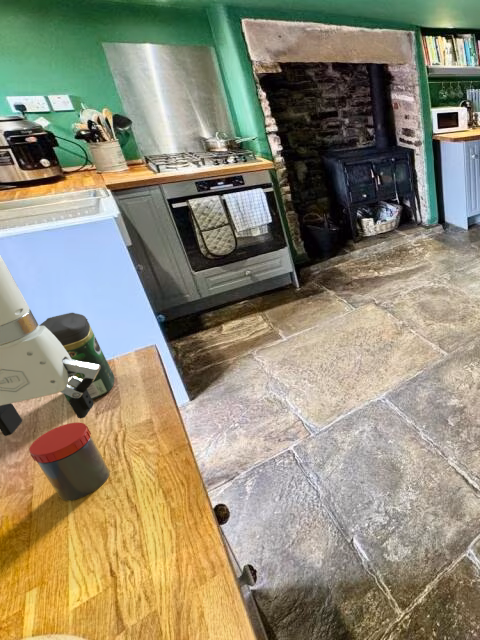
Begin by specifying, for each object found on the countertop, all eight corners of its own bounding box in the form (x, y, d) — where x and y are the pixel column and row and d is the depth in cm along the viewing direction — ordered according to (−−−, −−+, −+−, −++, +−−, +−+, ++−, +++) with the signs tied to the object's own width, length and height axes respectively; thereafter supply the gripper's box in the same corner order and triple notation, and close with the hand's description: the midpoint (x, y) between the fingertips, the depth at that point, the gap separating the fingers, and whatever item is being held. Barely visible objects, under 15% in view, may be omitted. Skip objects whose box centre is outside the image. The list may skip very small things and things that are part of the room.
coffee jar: (69, 386, 92) (33, 317, 85) (115, 371, 97) (85, 305, 90) (65, 410, 86) (25, 338, 78) (115, 393, 91) (82, 324, 83)
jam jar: (50, 506, 67) (21, 461, 63) (69, 474, 72) (44, 431, 68) (100, 492, 70) (76, 448, 65) (115, 462, 75) (93, 420, 71)
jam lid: (24, 469, 63) (18, 460, 62) (47, 437, 69) (42, 429, 68) (80, 454, 66) (75, 446, 65) (98, 425, 71) (94, 417, 71)
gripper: (-117, 360, 52) (-44, 457, 59) (64, 330, 58) (111, 420, 65) (-71, 329, 58) (-10, 420, 65) (88, 305, 64) (128, 390, 72)
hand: (50, 420), depth 65 cm, fingers open, 8 cm apart
